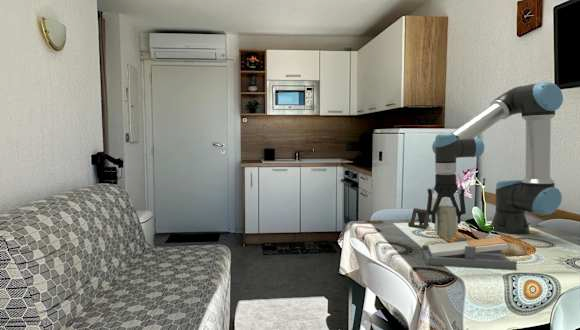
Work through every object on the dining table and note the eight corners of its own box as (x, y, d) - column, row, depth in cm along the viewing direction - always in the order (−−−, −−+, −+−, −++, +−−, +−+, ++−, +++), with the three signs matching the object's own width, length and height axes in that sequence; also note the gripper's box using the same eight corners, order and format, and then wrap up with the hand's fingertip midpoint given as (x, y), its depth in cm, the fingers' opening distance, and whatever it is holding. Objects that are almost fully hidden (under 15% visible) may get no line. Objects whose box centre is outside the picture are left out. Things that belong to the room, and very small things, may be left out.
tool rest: (519, 246, 144) (519, 242, 144) (532, 256, 132) (532, 252, 132) (485, 245, 147) (485, 241, 147) (495, 254, 135) (495, 250, 135)
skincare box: (436, 235, 148) (435, 205, 147) (444, 234, 150) (444, 204, 149) (447, 239, 142) (447, 208, 141) (456, 237, 144) (456, 206, 143)
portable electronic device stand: (407, 226, 180) (407, 209, 179) (416, 224, 185) (416, 207, 185) (424, 229, 174) (425, 212, 173) (432, 226, 179) (433, 209, 178)
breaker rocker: (499, 241, 131) (498, 236, 131) (508, 248, 122) (507, 243, 122) (428, 249, 136) (427, 244, 136) (432, 257, 128) (431, 252, 128)
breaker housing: (500, 255, 134) (500, 238, 134) (516, 269, 120) (516, 250, 119) (422, 251, 140) (422, 235, 139) (428, 264, 125) (428, 246, 125)
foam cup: (448, 220, 191) (449, 195, 190) (445, 224, 184) (446, 198, 183) (429, 218, 196) (429, 194, 196) (425, 222, 189) (426, 196, 188)
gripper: (420, 174, 143) (421, 233, 144) (475, 174, 138) (475, 234, 140) (418, 172, 150) (418, 228, 152) (470, 172, 146) (470, 229, 147)
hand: (445, 231), depth 146 cm, fingers closed on skincare box, 7 cm apart
